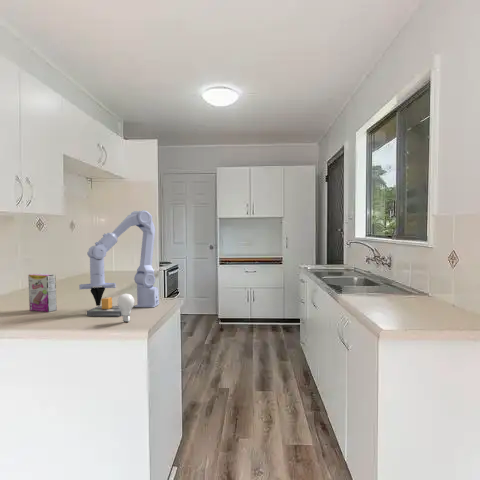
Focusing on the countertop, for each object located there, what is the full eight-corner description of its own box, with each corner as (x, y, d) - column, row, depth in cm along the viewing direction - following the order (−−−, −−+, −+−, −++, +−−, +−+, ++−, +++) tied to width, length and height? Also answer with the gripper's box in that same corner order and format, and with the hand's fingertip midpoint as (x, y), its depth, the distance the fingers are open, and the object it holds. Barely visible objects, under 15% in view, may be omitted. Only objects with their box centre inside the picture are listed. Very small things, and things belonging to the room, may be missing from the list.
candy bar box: (28, 311, 173) (27, 274, 173) (37, 309, 178) (36, 273, 177) (48, 312, 170) (47, 275, 169) (57, 310, 174) (56, 273, 174)
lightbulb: (119, 320, 152) (119, 292, 152) (136, 319, 153) (135, 292, 152) (116, 324, 146) (115, 295, 146) (133, 323, 146) (132, 294, 146)
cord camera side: (119, 316, 160) (119, 313, 160) (118, 317, 159) (118, 314, 158) (90, 316, 161) (90, 313, 161) (89, 316, 160) (89, 313, 160)
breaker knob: (112, 307, 168) (111, 297, 167) (108, 309, 164) (108, 298, 164) (105, 307, 168) (105, 297, 168) (101, 309, 164) (101, 298, 164)
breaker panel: (130, 310, 170) (130, 306, 170) (121, 316, 160) (121, 311, 160) (98, 310, 172) (98, 305, 172) (86, 315, 162) (86, 310, 162)
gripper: (116, 271, 171) (117, 302, 172) (81, 273, 169) (82, 304, 169) (114, 273, 164) (115, 305, 165) (77, 275, 162) (78, 307, 162)
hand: (98, 305), depth 166 cm, fingers closed
